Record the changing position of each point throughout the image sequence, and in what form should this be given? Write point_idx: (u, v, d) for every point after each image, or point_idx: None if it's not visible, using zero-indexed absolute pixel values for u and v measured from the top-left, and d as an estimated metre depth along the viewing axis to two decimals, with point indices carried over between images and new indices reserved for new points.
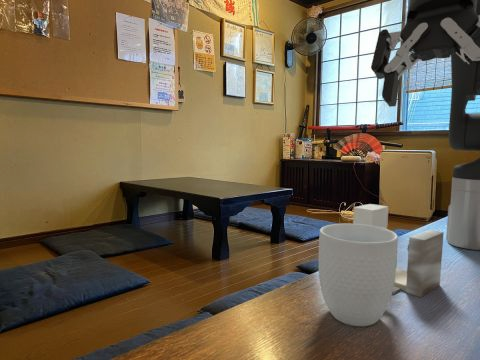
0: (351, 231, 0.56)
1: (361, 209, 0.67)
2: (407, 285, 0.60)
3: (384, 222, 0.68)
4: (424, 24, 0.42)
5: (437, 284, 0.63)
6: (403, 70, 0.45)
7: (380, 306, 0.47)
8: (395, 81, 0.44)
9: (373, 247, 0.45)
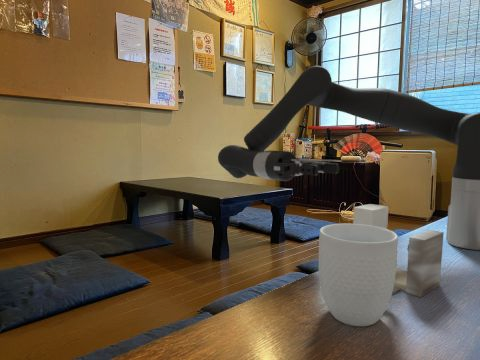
0: (351, 231, 0.56)
1: (361, 209, 0.67)
2: (407, 285, 0.60)
3: (384, 222, 0.68)
4: None
5: (437, 284, 0.63)
6: (317, 164, 0.82)
7: (380, 306, 0.47)
8: (326, 170, 0.80)
9: (373, 247, 0.45)
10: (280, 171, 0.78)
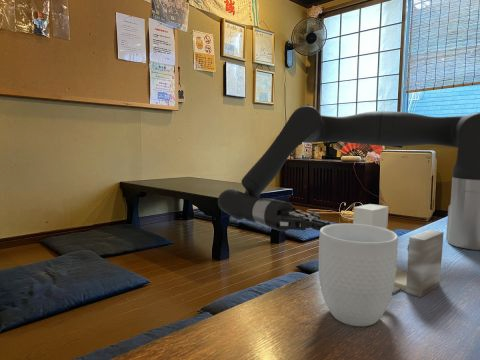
0: (351, 231, 0.56)
1: (361, 209, 0.67)
2: (407, 285, 0.60)
3: (384, 222, 0.68)
4: None
5: (437, 284, 0.63)
6: None
7: (380, 306, 0.47)
8: None
9: (373, 247, 0.45)
10: (289, 226, 0.79)
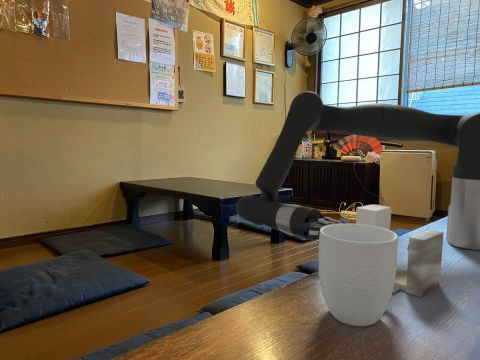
0: (351, 231, 0.56)
1: (364, 209, 0.66)
2: (407, 285, 0.60)
3: (387, 223, 0.68)
4: None
5: (437, 284, 0.63)
6: None
7: (380, 306, 0.47)
8: None
9: (373, 247, 0.45)
10: None
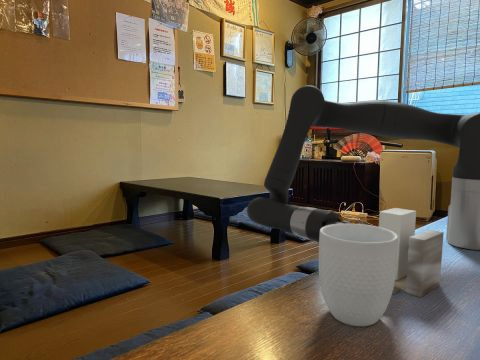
0: (351, 231, 0.56)
1: (388, 214, 0.63)
2: (407, 285, 0.60)
3: (412, 227, 0.64)
4: None
5: (437, 284, 0.63)
6: None
7: (380, 306, 0.47)
8: None
9: (373, 247, 0.45)
10: None
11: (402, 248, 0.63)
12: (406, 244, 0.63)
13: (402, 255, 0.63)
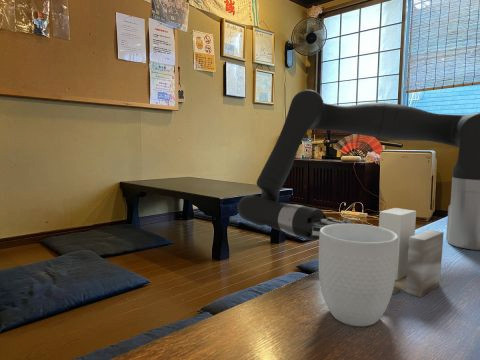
0: (351, 231, 0.56)
1: (388, 214, 0.63)
2: (407, 285, 0.60)
3: (412, 227, 0.64)
4: None
5: (437, 284, 0.63)
6: None
7: (380, 306, 0.47)
8: None
9: (373, 247, 0.45)
10: None
11: (402, 248, 0.62)
12: (406, 244, 0.63)
13: (402, 255, 0.63)
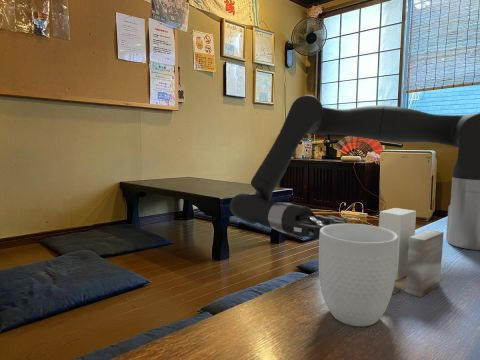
0: (351, 231, 0.56)
1: (388, 214, 0.63)
2: (407, 285, 0.60)
3: (412, 227, 0.64)
4: None
5: (437, 284, 0.63)
6: (336, 223, 0.78)
7: (380, 306, 0.47)
8: None
9: (373, 247, 0.45)
10: (302, 233, 0.75)
11: (402, 248, 0.62)
12: (406, 244, 0.63)
13: (402, 255, 0.63)
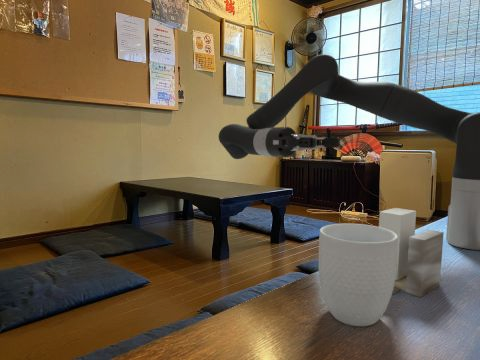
0: (351, 231, 0.56)
1: (388, 214, 0.63)
2: (407, 285, 0.60)
3: (412, 227, 0.64)
4: None
5: (437, 284, 0.63)
6: (319, 139, 0.82)
7: (380, 306, 0.47)
8: (327, 144, 0.80)
9: (373, 247, 0.45)
10: (278, 145, 0.77)
11: (402, 248, 0.62)
12: (406, 244, 0.63)
13: (402, 255, 0.63)
